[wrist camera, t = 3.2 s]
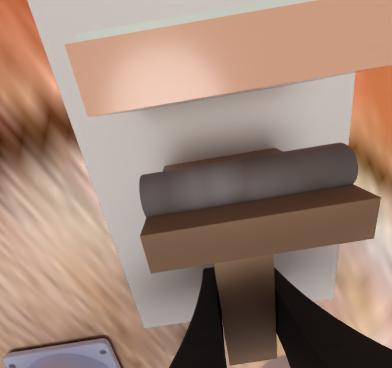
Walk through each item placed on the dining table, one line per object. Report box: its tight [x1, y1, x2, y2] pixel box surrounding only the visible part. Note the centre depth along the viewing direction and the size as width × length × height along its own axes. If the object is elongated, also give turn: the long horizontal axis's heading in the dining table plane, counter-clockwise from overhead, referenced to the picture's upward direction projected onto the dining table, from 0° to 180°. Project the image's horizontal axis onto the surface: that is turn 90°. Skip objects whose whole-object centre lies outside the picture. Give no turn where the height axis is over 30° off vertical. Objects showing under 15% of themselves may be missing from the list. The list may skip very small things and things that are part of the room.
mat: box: [27, 0, 355, 329], centre depth 11 cm, size 25×14×1 cm, turn 9°
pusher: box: [139, 143, 381, 365], centre depth 10 cm, size 11×6×6 cm, turn 9°
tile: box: [64, 0, 392, 117], centre depth 7 cm, size 2×7×6 cm, turn 99°
